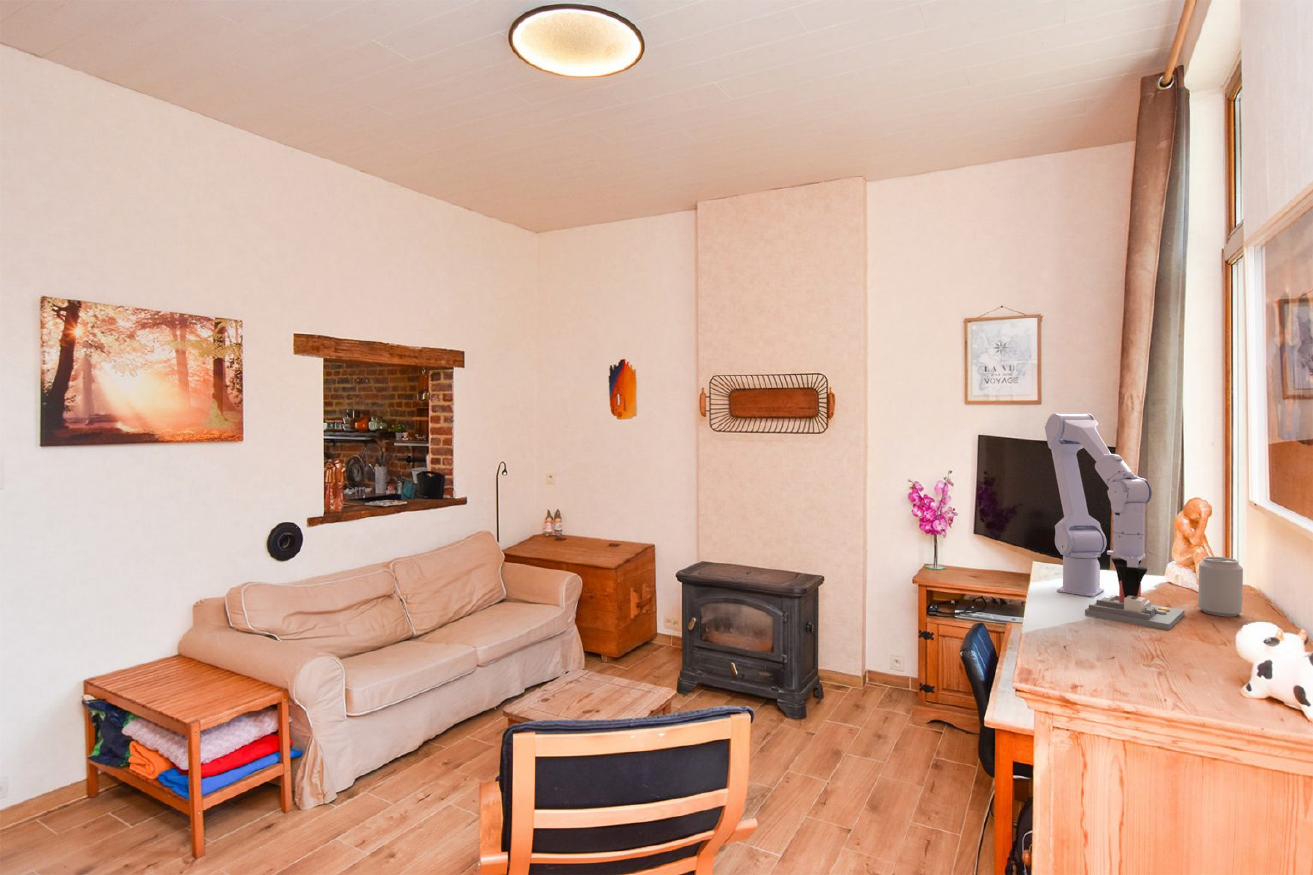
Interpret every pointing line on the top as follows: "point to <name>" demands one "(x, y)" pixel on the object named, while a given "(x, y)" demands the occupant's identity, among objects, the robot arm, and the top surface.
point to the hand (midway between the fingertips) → (1128, 593)
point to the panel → (1135, 613)
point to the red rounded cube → (1121, 594)
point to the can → (1220, 586)
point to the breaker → (1135, 604)
